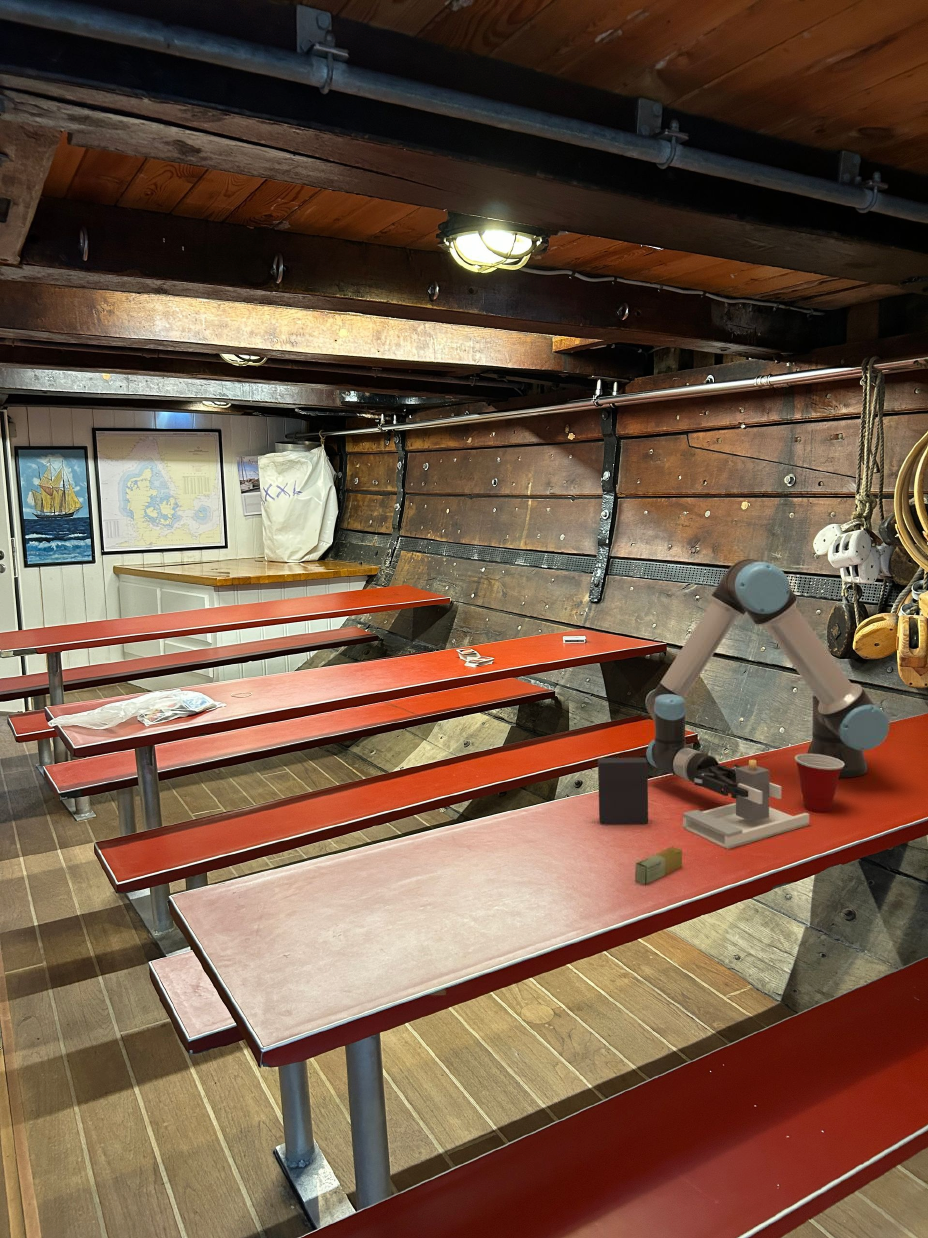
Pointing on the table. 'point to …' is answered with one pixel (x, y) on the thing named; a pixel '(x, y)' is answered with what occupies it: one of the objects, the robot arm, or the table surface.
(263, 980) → the table surface
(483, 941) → the table surface
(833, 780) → the plastic cup
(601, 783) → the calculator
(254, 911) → the table surface
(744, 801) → the grey bottle with cork
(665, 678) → the robot arm
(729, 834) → the tray
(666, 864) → the medication box
